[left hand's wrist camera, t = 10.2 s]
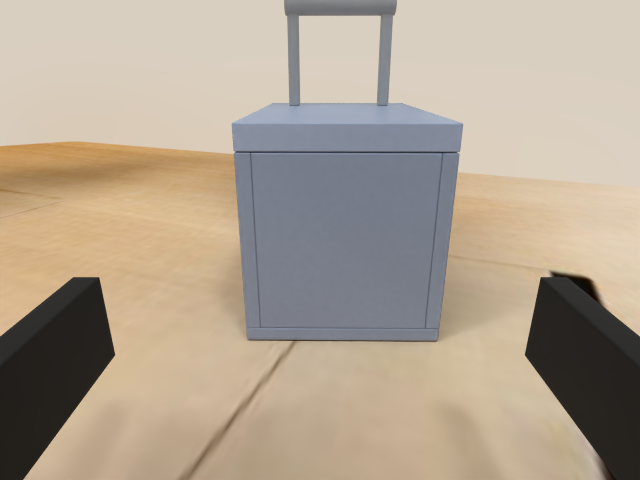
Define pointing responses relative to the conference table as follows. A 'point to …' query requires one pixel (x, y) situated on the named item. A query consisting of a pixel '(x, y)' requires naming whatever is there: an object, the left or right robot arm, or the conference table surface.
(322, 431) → the conference table surface
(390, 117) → the lid
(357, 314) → the chest
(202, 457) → the conference table surface
